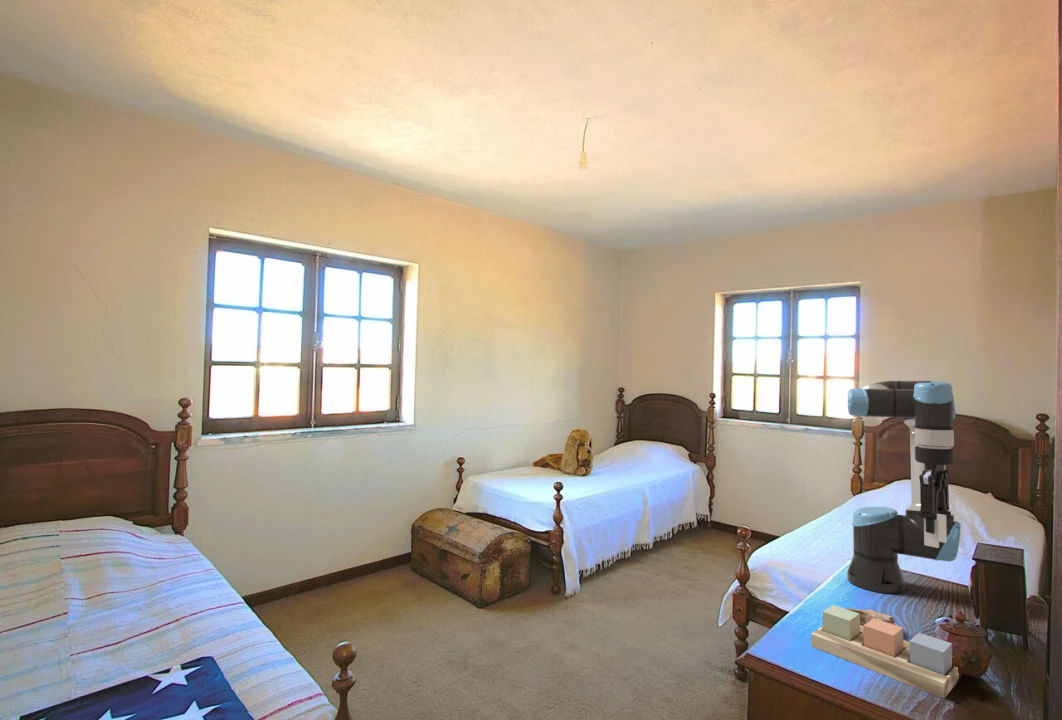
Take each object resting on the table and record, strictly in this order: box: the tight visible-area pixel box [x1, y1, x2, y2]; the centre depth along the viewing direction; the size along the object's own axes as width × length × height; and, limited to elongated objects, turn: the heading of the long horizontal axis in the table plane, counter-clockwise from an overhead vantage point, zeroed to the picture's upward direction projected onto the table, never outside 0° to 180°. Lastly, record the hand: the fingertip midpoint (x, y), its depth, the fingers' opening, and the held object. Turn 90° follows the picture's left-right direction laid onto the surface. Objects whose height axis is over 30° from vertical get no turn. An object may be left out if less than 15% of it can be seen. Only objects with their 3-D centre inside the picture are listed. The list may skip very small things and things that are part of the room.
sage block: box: [822, 604, 860, 641], centre depth 129 cm, size 6×6×5 cm
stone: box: [846, 607, 896, 626], centre depth 138 cm, size 9×11×5 cm
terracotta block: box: [864, 618, 904, 658], centre depth 122 cm, size 6×6×5 cm
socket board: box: [810, 625, 959, 699], centre depth 122 cm, size 14×26×3 cm, turn 38°
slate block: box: [909, 632, 953, 676], centre depth 115 cm, size 6×6×5 cm
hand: (935, 543), depth 128 cm, fingers open, 5 cm apart
